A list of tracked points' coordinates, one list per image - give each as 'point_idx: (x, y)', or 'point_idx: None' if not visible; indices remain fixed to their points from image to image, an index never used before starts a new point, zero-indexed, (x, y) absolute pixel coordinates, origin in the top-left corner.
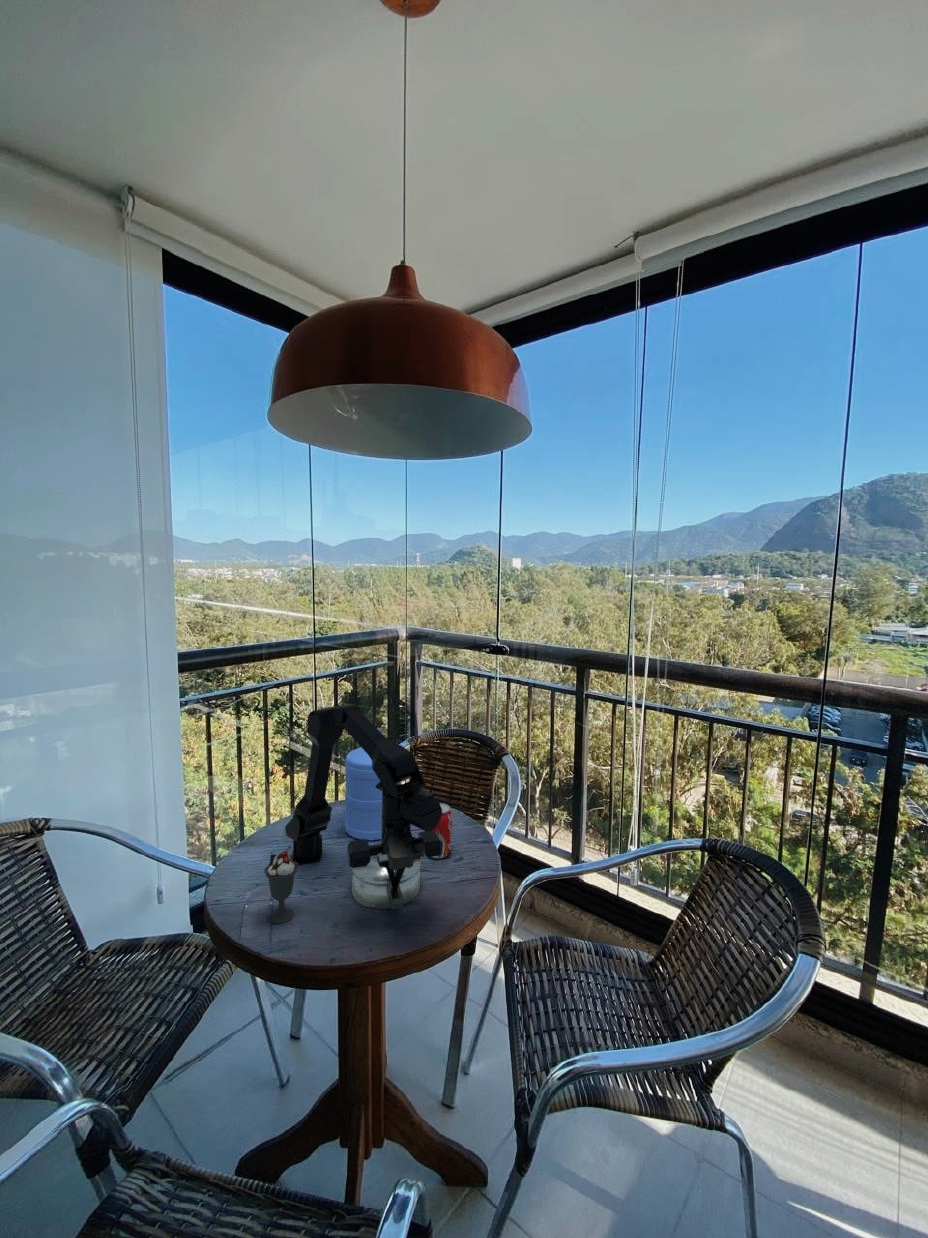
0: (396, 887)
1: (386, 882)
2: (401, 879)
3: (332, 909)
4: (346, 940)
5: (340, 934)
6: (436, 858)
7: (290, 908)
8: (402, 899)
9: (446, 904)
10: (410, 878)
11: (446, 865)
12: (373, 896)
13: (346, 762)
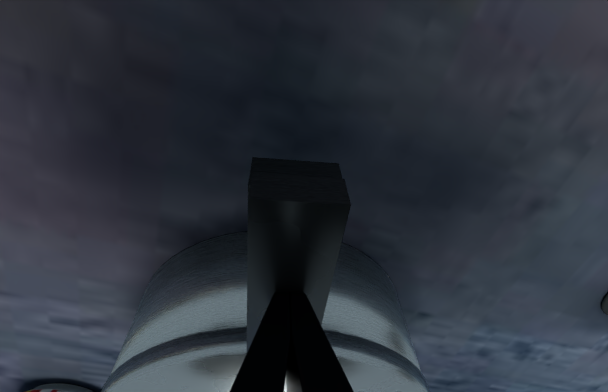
0: (280, 303)
1: None
2: (219, 350)
3: (492, 279)
4: (564, 98)
5: (558, 148)
6: (71, 385)
7: (606, 311)
8: (257, 189)
9: (2, 178)
10: (162, 345)
11: (30, 359)
12: (365, 290)
13: None
